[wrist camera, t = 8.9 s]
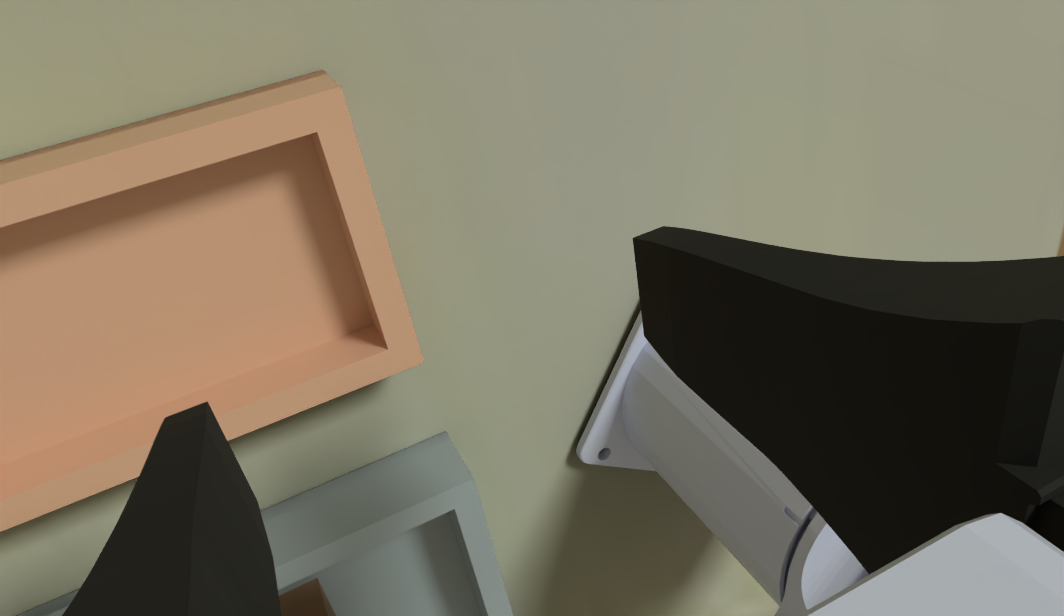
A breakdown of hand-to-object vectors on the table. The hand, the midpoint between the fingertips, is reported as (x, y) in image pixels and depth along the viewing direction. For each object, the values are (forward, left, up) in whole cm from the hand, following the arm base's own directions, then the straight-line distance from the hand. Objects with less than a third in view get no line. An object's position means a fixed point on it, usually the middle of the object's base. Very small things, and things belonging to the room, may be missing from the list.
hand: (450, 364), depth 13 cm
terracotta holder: (+4, +4, -9) cm, 11 cm away
